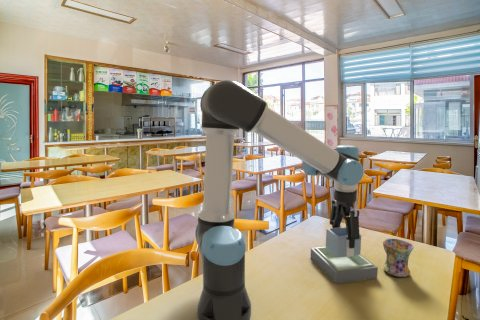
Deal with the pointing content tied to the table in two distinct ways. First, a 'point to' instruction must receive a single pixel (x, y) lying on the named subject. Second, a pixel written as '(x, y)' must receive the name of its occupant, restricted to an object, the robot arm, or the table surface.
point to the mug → (397, 257)
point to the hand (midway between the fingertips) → (342, 250)
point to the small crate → (340, 242)
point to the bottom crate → (345, 274)
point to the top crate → (343, 260)
